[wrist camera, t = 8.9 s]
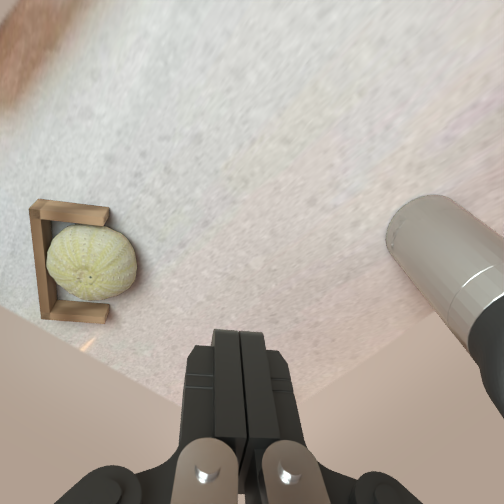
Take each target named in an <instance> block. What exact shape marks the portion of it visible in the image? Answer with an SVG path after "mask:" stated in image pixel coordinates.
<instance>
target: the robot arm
mask: <svg viewBox="0 0 504 504" xmlns="http://www.w3.org/2000/svg"><path fill="white" fill-rule="evenodd" d="M386 244H387V248H388V250H389V252H390V254H391V255H392V256H393V257H394V259H395V260H396V261H397V263H398V264H399V265H400V266H401V268H402V269H403V270H404V272H405V273H406V274H407V276H408V277H409V278H410V279H411V281H412V282H413V283H414V284H415V286H416V287H417V288H418V290H419V291H420V292H421V293H422V295H423V296H424V297H425V298H426V300H427V301H428V302H429V304H430V305H431V306H432V307H433V309H434V310H435V311H436V312H437V314H438V315H439V316H440V317H441V319H442V320H443V321H444V323H445V324H446V325H447V326H448V328H449V329H450V330H451V332H452V333H453V334H454V335H455V336H456V338H457V339H458V340H459V341H460V343H461V344H462V345H463V347H464V348H465V349H466V350H467V352H468V353H469V354H470V356H471V357H472V358H473V360H474V361H475V362H476V363H477V365H478V366H479V368H480V373H481V377H482V382H483V385H484V387H485V389H486V392H487V394H488V395H489V397H490V399H491V400H492V402H493V403H494V405H495V406H496V408H497V409H498V411H499V412H500V414H501V415H502V417H503V418H504V237H502V236H501V235H499V234H498V233H497V232H495V231H494V230H493V229H491V228H490V227H488V226H487V225H486V224H484V223H483V222H482V221H480V220H479V219H477V218H476V217H475V216H473V215H472V214H471V213H469V212H468V211H467V210H465V209H464V208H462V207H461V206H460V205H458V204H457V203H455V202H454V201H453V200H451V199H450V198H447V197H445V196H440V195H427V196H423V197H419V198H417V199H415V200H413V201H411V202H409V203H408V204H406V205H405V206H403V207H402V208H401V209H400V210H399V211H398V212H397V213H396V214H395V216H394V217H393V218H392V220H391V222H390V224H389V226H388V229H387V233H386ZM238 494H245V504H423V503H421V502H420V501H419V500H418V499H417V498H416V497H415V496H414V495H413V494H411V493H410V492H409V491H408V490H407V489H406V488H405V487H404V486H403V485H402V484H400V483H399V482H398V481H397V480H396V479H394V478H392V477H391V476H389V475H387V474H385V473H381V472H376V471H375V472H374V471H373V472H368V473H365V474H363V475H362V476H361V477H360V478H359V479H358V480H356V479H353V478H351V477H348V476H345V475H342V474H340V473H337V472H334V471H332V470H329V469H328V468H326V467H324V466H323V465H321V464H320V463H319V462H318V461H317V460H316V458H315V457H314V455H313V454H312V453H311V452H310V451H309V450H308V448H307V446H306V444H305V441H304V437H303V433H302V428H301V423H300V419H299V414H298V409H297V405H296V400H295V396H294V394H293V386H292V382H291V377H290V373H289V368H288V364H287V362H286V361H285V360H284V358H283V357H282V355H281V354H280V353H279V351H274V350H266V347H265V341H264V335H263V333H262V332H249V331H239V332H238V331H234V330H221V329H214V331H213V336H212V342H211V346H199V345H195V347H194V349H193V350H192V352H191V353H190V355H189V356H188V358H187V366H186V373H185V381H184V389H183V399H182V412H181V424H180V435H179V446H178V448H177V450H176V452H175V453H174V454H173V455H172V457H171V458H170V459H168V460H167V461H166V462H165V463H163V464H161V465H160V466H157V467H155V468H152V469H149V470H146V471H143V472H140V473H137V474H134V473H133V472H131V471H130V470H128V469H127V468H125V467H121V466H114V465H110V466H104V467H100V468H98V469H96V470H93V471H92V472H90V473H88V474H87V475H86V476H84V477H83V478H82V479H81V480H80V481H79V482H78V483H76V484H75V485H74V486H73V487H72V488H71V489H70V490H69V491H68V492H66V493H65V494H64V495H63V496H62V497H61V498H60V499H59V500H58V501H56V502H55V503H54V504H238Z"/></svg>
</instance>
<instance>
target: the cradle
mask: <svg viewBox="0 0 504 504" xmlns="http://www.w3.org/2000/svg"><path fill="white" fill-rule="evenodd" d="M29 215H30V224H31V233H32V242H33V251H34V259H35V268H36V277H37V286H38V295H39V304H40V312H41V319H46V320H59V321H73V322H86V323H100V324H105V321H106V318H107V316H108V313H109V304H102V303H90V302H78V301H66V300H57V290H56V281H55V279H54V278H53V277H52V276H50V273H49V272H48V269H47V266H46V263H47V255H48V254H47V252H48V249H49V247H50V245H51V242H52V231H51V220H54V221H62V222H71V223H80V224H89V225H97V226H104V224H105V222H106V221H107V219H108V217H109V207H102V206H94V205H86V204H77V203H69V202H61V201H53V200H44V199H38V200H37V201H36V202H35V203H34V204H33V205H32V206H31V207H30V208H29Z"/></svg>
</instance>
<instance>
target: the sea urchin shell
mask: <svg viewBox="0 0 504 504" xmlns="http://www.w3.org/2000/svg"><path fill="white" fill-rule="evenodd" d="M134 252H135V251H134V249H133V247H132V246H131V244H130V243H129V241H128V239H127V238H126V237H125V236H124V235H122V234H121V233H119V232H117V231H114V230H112V229H110V228H108V227H104V226H97V225H89V224H75V225H71V226H69V227H68V226H67V227H66V228H65V229H63V230H62V231H61V232H60V233H59V234H58V235H56V236H55V238H53V240H52V242H51V245H50V247H49V249H48V252H47V254H48V255H47V263H46V266H47V269H48V272H49V273H50V276H52V277H53V278H54V279H55V281H56V282H57V284H59V285H60V286H61V287H63V288H64V289H65V290H66V291H68V292H69V293H70V294H73V295H75V296H77V297H78V298H80V299H83V300H89V301H92V300H103V299H106V298H109V297H114V296H118V295H119V294H120V293H122V292H124V291H126V290H127V289H129V288H130V286H131V285H132V284H133V282H134V281H135V277H136V270H137V263H136V259H135V253H134Z"/></svg>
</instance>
